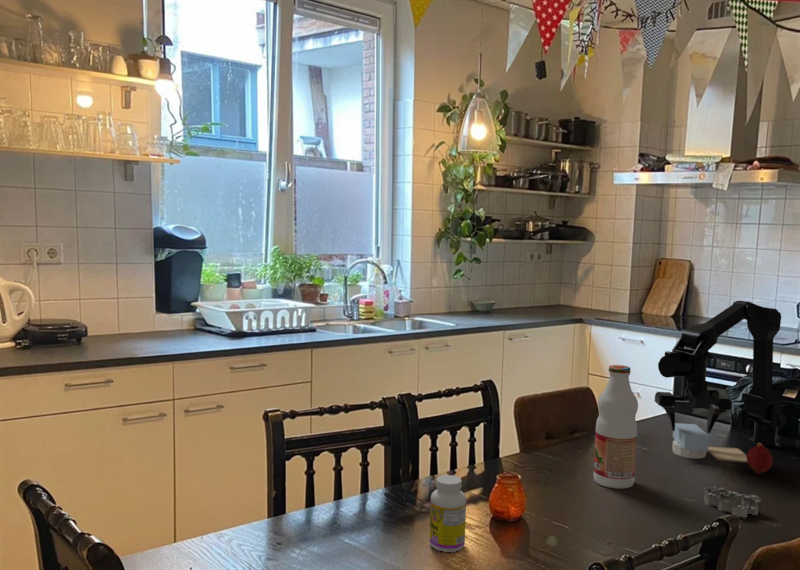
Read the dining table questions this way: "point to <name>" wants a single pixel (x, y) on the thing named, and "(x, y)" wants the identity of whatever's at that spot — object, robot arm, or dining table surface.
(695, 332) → the robot arm
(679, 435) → the light blue block
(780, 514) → the dining table surface
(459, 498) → the supplement bottle
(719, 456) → the mat
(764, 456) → the onion
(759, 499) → the egg carton
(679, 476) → the dining table surface
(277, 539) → the dining table surface
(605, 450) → the fruit juice
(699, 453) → the bowl
